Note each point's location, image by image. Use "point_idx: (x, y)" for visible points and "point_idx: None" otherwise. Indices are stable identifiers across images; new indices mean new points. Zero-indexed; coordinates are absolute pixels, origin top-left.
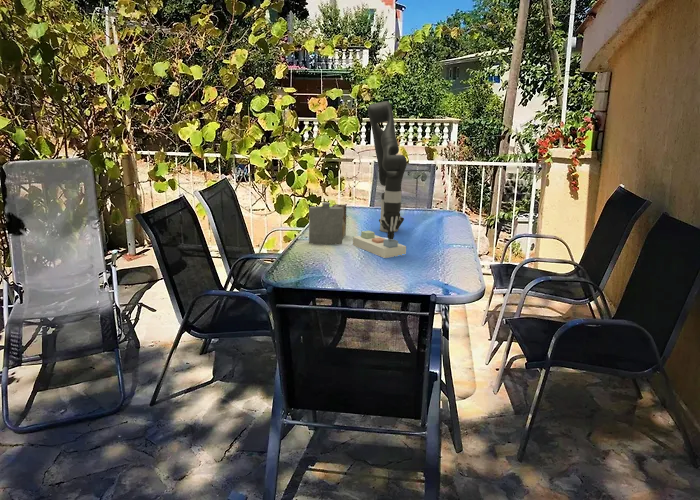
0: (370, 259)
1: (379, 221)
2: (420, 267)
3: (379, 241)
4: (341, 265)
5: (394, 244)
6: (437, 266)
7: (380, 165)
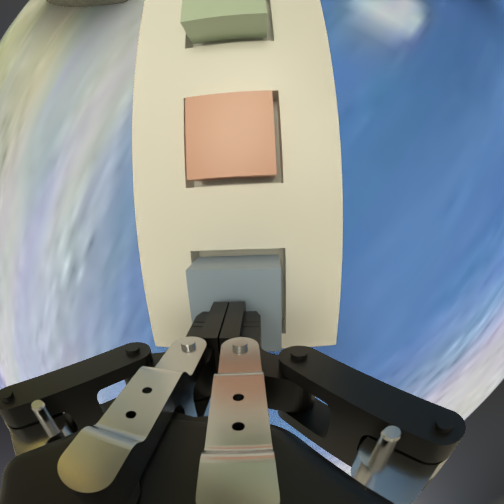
0: (102, 303)
1: (12, 392)
2: None
3: (207, 178)
4: (9, 308)
5: None
6: None
7: None
